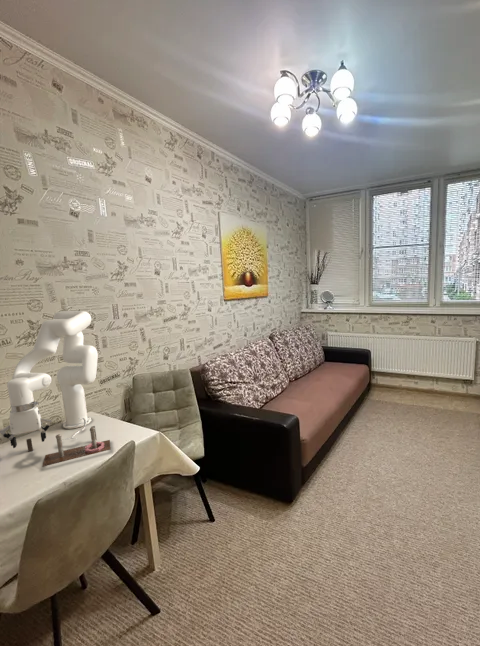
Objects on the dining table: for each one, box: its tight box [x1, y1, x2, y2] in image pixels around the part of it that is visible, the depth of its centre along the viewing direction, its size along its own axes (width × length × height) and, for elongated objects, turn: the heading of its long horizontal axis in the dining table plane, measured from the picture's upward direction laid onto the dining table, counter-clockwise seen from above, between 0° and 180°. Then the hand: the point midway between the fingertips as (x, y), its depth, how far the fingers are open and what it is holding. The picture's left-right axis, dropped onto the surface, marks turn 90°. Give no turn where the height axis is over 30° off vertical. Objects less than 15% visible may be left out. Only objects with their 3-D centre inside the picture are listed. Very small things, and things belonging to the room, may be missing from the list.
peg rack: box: [41, 426, 111, 468], centre depth 133 cm, size 10×24×12 cm, turn 122°
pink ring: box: [85, 425, 104, 453], centre depth 138 cm, size 12×7×7 cm, turn 32°
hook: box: [62, 417, 87, 441], centre depth 149 cm, size 7×9×20 cm
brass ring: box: [25, 438, 34, 453], centre depth 130 cm, size 12×7×7 cm, turn 32°
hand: (29, 443), depth 134 cm, fingers open, 9 cm apart
